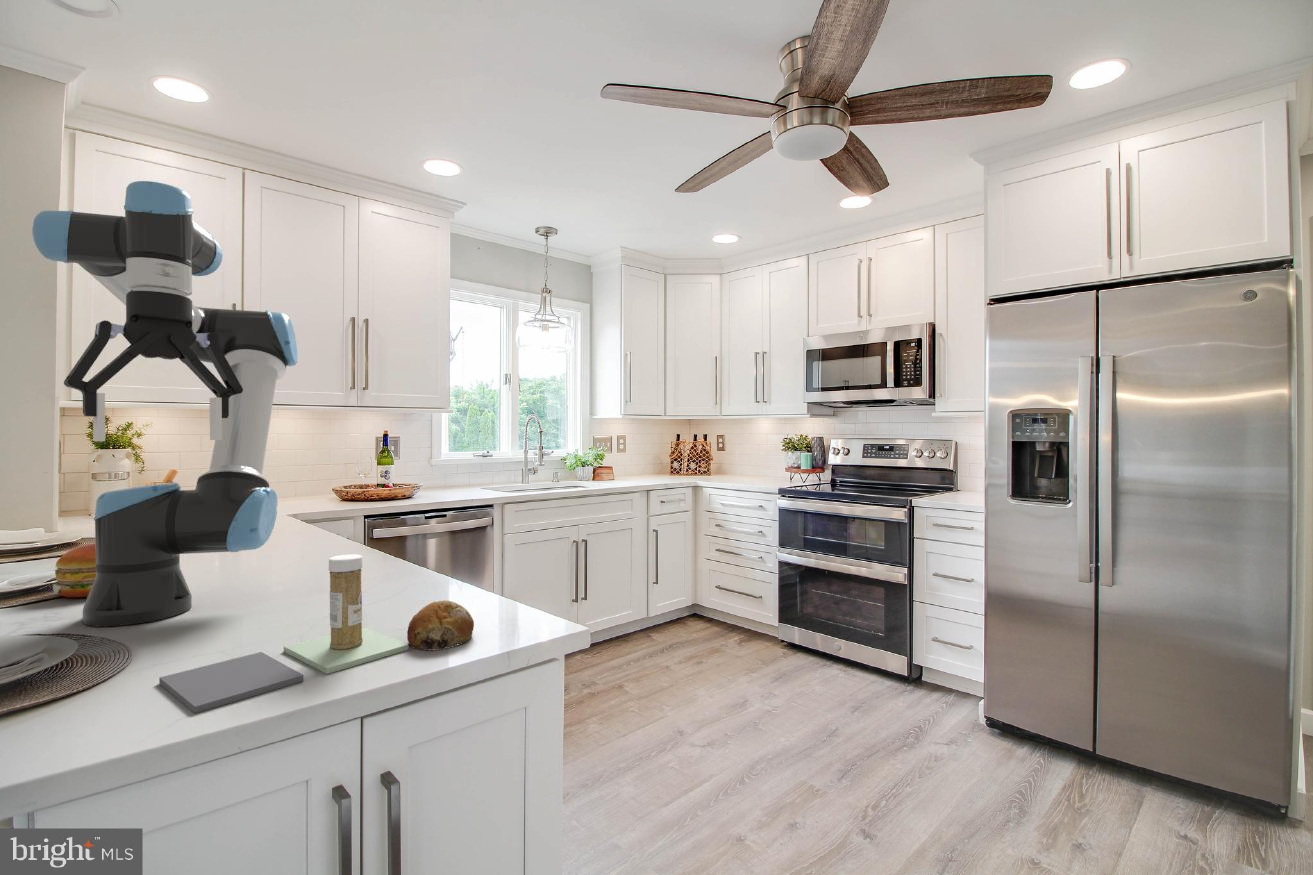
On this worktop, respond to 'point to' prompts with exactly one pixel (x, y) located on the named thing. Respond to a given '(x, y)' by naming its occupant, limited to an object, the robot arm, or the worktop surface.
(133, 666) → the worktop surface
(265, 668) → the pad
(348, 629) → the spice jar
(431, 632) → the bread roll
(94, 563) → the burger
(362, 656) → the pad
